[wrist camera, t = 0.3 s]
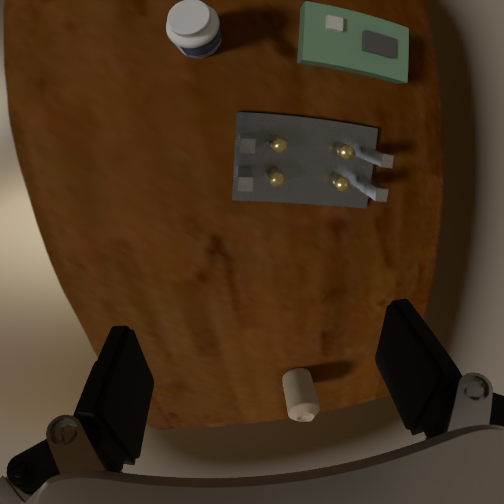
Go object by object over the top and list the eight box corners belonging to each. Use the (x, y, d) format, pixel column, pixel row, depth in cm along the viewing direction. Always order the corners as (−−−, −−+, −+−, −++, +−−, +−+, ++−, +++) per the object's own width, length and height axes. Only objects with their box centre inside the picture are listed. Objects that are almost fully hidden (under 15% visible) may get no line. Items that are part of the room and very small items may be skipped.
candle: (277, 383, 55) (283, 425, 46) (290, 365, 53) (299, 408, 44) (302, 387, 56) (311, 427, 47) (315, 369, 54) (327, 411, 45)
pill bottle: (231, 34, 29) (230, 10, 21) (203, 66, 31) (192, 51, 22) (196, 13, 28) (185, -16, 19) (168, 45, 29) (148, 25, 21)
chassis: (236, 112, 34) (237, 111, 28) (374, 128, 35) (400, 133, 29) (232, 198, 39) (231, 215, 32) (363, 206, 40) (385, 224, 34)
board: (300, 8, 24) (307, -2, 21) (398, 32, 25) (412, 27, 22) (297, 63, 27) (304, 58, 24) (396, 83, 28) (411, 82, 25)
